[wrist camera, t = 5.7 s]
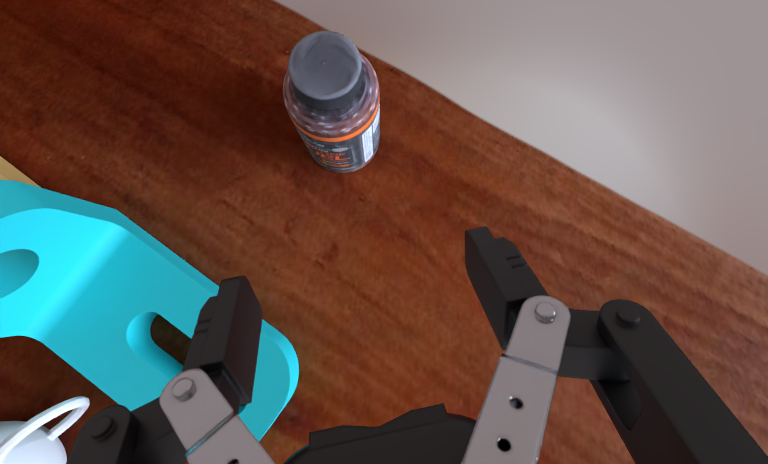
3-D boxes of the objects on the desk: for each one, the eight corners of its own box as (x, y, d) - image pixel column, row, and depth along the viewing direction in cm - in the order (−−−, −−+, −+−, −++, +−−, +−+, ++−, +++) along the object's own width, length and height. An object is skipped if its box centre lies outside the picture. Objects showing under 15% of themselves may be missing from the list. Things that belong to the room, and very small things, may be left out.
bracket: (35, 307, 30) (-181, 320, 19) (116, 209, 31) (-42, 164, 20) (240, 469, 29) (142, 593, 17) (317, 360, 30) (275, 407, 18)
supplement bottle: (297, 164, 32) (251, 98, 21) (320, 97, 33) (286, -1, 22) (368, 184, 32) (360, 128, 21) (389, 116, 33) (391, 27, 21)
